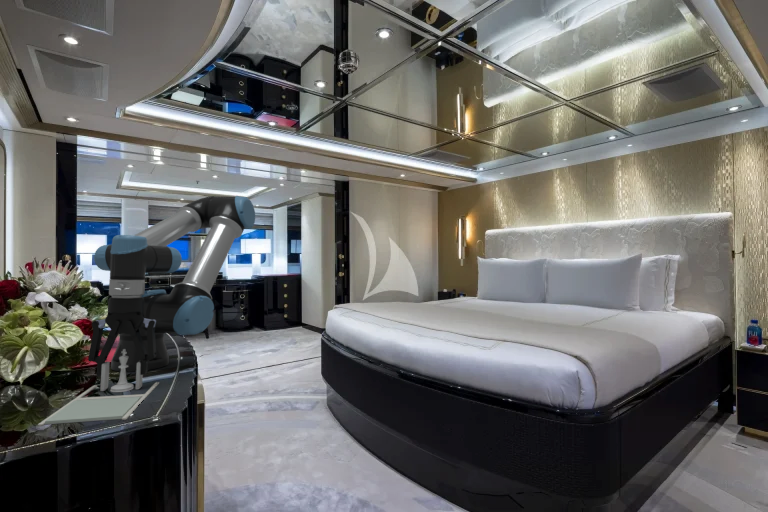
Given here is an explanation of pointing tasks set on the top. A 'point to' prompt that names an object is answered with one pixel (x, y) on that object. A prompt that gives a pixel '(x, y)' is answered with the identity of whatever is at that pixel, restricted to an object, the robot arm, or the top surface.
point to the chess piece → (122, 376)
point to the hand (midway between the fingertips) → (121, 388)
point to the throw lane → (97, 408)
